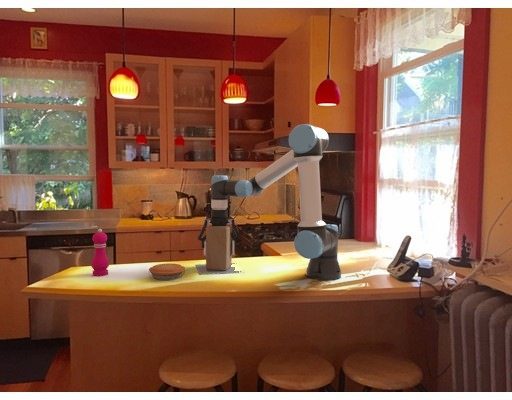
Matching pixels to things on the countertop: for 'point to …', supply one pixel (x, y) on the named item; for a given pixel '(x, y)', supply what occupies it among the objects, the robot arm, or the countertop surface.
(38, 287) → the countertop surface
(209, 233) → the block
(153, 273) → the pie
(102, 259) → the pepper mill
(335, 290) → the countertop surface
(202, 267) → the board
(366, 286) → the countertop surface
